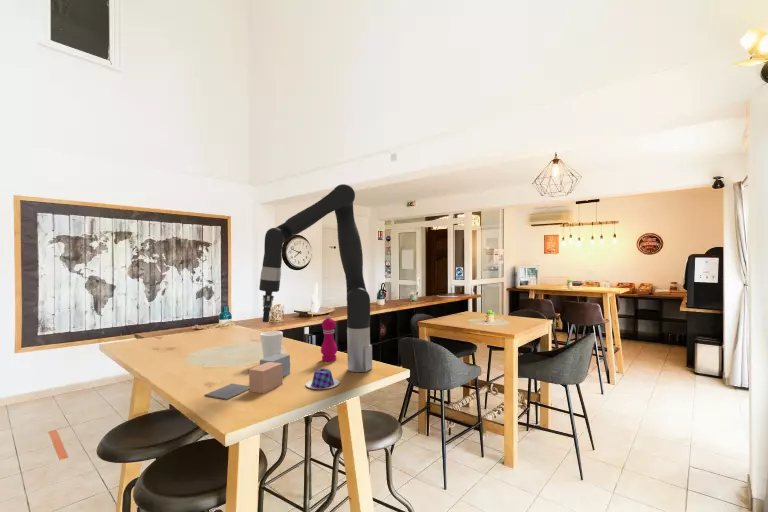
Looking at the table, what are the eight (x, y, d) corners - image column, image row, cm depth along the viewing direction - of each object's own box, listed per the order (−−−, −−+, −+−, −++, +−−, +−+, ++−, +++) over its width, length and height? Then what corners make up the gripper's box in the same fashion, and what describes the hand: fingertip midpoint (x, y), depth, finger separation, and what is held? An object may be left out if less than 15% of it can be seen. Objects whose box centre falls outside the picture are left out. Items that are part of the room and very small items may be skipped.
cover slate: (290, 373, 149) (289, 354, 149) (273, 381, 140) (273, 361, 140) (277, 372, 152) (277, 353, 152) (260, 379, 142) (259, 359, 142)
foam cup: (276, 366, 160) (276, 335, 160) (256, 365, 161) (256, 335, 161) (286, 360, 169) (286, 331, 169) (267, 359, 171) (267, 330, 171)
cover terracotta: (282, 384, 137) (282, 363, 137) (263, 393, 128) (263, 371, 128) (268, 382, 140) (268, 361, 140) (249, 391, 130) (249, 369, 130)
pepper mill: (340, 359, 170) (340, 314, 170) (330, 363, 164) (329, 316, 164) (328, 357, 174) (327, 313, 174) (317, 360, 168) (317, 315, 168)
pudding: (346, 385, 136) (345, 370, 136) (317, 393, 128) (316, 378, 128) (327, 377, 145) (327, 364, 145) (299, 385, 137) (299, 370, 137)
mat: (253, 387, 133) (253, 386, 133) (227, 399, 122) (227, 398, 122) (231, 384, 137) (231, 383, 137) (204, 395, 126) (204, 394, 126)
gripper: (280, 281, 142) (275, 324, 142) (279, 278, 156) (275, 317, 156) (259, 279, 140) (254, 322, 140) (260, 276, 154) (256, 316, 154)
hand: (265, 320), depth 148 cm, fingers open, 8 cm apart
